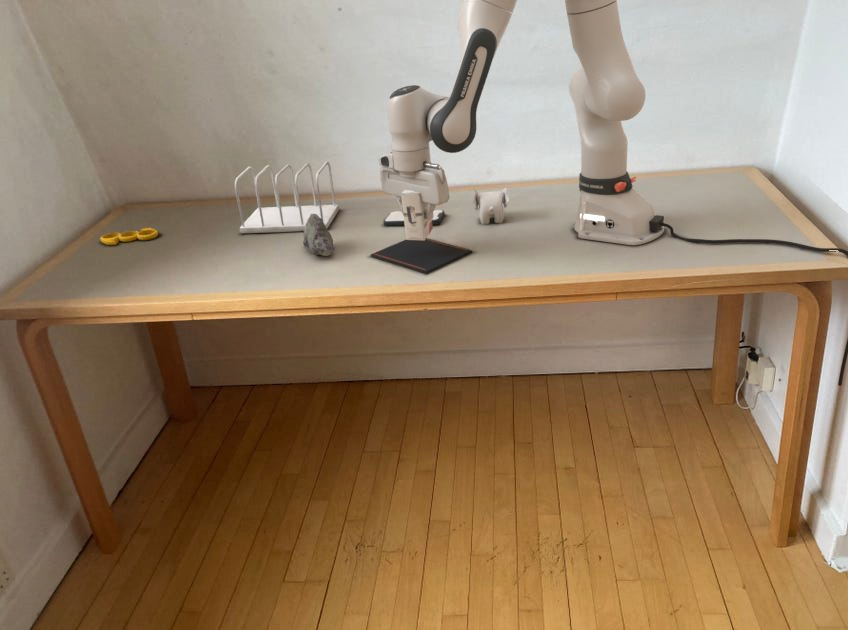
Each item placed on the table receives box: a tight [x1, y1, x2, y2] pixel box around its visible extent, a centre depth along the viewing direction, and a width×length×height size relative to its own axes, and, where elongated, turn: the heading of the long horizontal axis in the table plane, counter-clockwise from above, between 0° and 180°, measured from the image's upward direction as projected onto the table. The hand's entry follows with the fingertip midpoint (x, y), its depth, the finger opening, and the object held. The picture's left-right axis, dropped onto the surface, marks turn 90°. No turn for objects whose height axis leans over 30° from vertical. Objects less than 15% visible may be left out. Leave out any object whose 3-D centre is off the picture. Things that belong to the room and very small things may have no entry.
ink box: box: [401, 190, 434, 241], centre depth 188 cm, size 9×5×12 cm, turn 166°
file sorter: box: [234, 160, 340, 234], centre depth 220 cm, size 25×17×16 cm
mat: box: [370, 237, 473, 275], centre depth 193 cm, size 20×16×1 cm
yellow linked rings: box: [99, 227, 159, 246], centre depth 223 cm, size 17×2×10 cm
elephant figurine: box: [472, 186, 510, 225], centre depth 209 cm, size 10×12×9 cm
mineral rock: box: [302, 214, 335, 257], centre depth 198 cm, size 13×11×10 cm
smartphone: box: [383, 209, 446, 227], centre depth 216 cm, size 9×2×16 cm
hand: (417, 216), depth 188 cm, fingers closed on ink box, 7 cm apart
